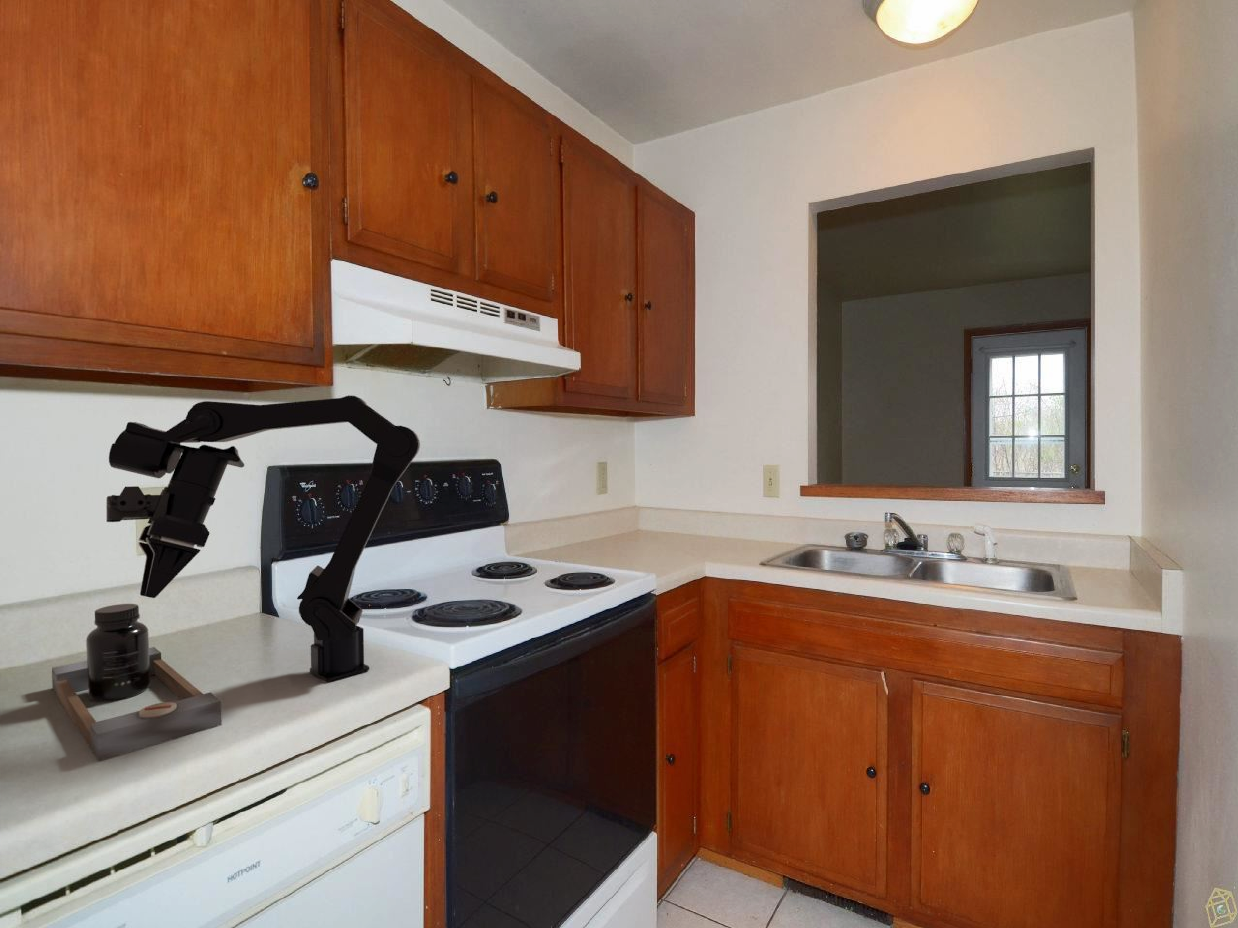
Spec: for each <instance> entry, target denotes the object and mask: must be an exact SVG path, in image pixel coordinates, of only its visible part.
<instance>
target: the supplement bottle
mask: <svg viewBox="0 0 1238 928" xmlns="http://www.w3.org/2000/svg"><path fill="white" fill-rule="evenodd" d="M139 607H140V606H139V605H138V604H136V603H121V604H112V605H107V606H103V607H100V608H98V609H95V610H94V621H93V622H94V625H95V626H96V628H94V629H93V630H91V631H90V632H89V633H88V635H87V637H86V641H85V642H86V643H85V644H86V645H85V646H86V647H85V649H86V661H87V671H88V689H87V690H88V697H89V698H90V699H91V700H93V701H95V702H112V701H113V702H114V701H118V700H125V699H127V698H131V697H134V696H137V695H139V694H141V693H144V692H145V691H147V690H148V688H149V687H150V685H151V675H150V662H149V648H150V642H149V641H150V639H149V637H150V636H149V629H148V627H147V626H146V624H144V623H142V622H141V621H138V620H139V619H140V617H141V615H140V610H139V609H140V608H139Z"/></svg>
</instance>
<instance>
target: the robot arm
mask: <svg viewBox="0 0 1238 928" xmlns="http://www.w3.org/2000/svg"><path fill="white" fill-rule="evenodd" d="M342 423H349V424H350V425H352V426H353V427H354V428H356V429H357V430H358V431H359V432H360V433H362V434H363V435H364V436H365V437H366V438H368V439H369V440H370V441H372V442H373V443H375V444H376V448H375V452H374V456H373V459H372V465H371V470H370V474H369V478H368V481H367V483H366V484H365V486H364V489H363V491H362V493H361V495H360V497H359V499H358V502H357V504H356V505H355V507H354V509H353V512H352V513H351V515H350V518H349V520H348V522H347V525H346V527H345V528H344V531H343V533H342V534H341V537H340V539H339V541H338V543H337V546H336V548H335V550H334V552H333V554H332V556H331V558H330V560H329V562H328V563H327V565H326V566H325V567H324V568H323V567H322V566H320V565H316V567H314V568H313V569H312V570H311V571H310V572H309V574H308V576H307V580H306V582H305V586H304V588H303V591H302V592H301V593H300V594H299V595H298V596H297V597H296V600H300V602H299V606H298V614H299V616H300V618H301V620H302V621H303V622H304V623H305V624H306V625H308V626H309V627H311V629H312V632H313V644H311V645H310V668H309V672H310V673H312V674H314V675H315V676H317V677H318V678H320V679H323V680H324V681H327V682H331V681H334V680H339V679H342V678H345V677H346V678H347V677H349V676H353V675H356V674H360V673H363V672H366V671H369V670H370V666H369V665H367V664H366V663H365V647H364V646H365V645H364V643H365V642H364V639H365V637H364V635H365V634H364V627H362V626H359V625H358V624H359V623H360V619H361V617H362V614H363V612H364V611H363V608H361V607H360V606H359V605H357V604H356V603H355V602H354V601H353V600H351V598H350V597H349V596H350V592H351V589H352V585H353V580H354V576H355V571H356V567H357V565H358V562H359V561H360V559H361V556H362V554H363V552H364V550H365V547H366V545H367V543H368V541H369V539H370V537H371V535H372V533H373V532H374V531H373V530H374V529H375V527H376V525H377V522H378V520H379V518H380V516H381V514H382V512H383V510H384V507H385V505H386V503H387V501H388V500H389V497H390V495H391V492H392V491H393V488H394V487H395V485H396V484H397V482H398V481H399V480H400V478H401V477H402V475H403V474H404V473H405V472H406V470H407V469H408V468H409V466H410V465H411V463H412V462H413V461H414V459H415V458H416V456H417V455H418V453H419V451H420V448H421V447H420V446H421V442H420V441H421V440H420V439H419V437H418V434H417V433H416V432H415V431H414V430H413V429H411V428H409V427H407V426H403V425H395V424H394V423H392V422H391V421H390V420H388V419H387V418H385V416H383V415H381V413H379V412H378V411H376V410H375V409H373V408H372V407H371V406H369V405H368V404H367V403H366V401H365V400H363V399H362V398H360V397H358V396H356V395H346V396H343V397H337V398H335V397H334V398H327V399H326V398H325V399H314V400H304V401H302V400H301V401H293V402H291V401H289V402H281V403H279V402H278V403H268V404H251V403H250V404H249V403H238V402H226V401H225V402H224V401H210V400H209V401H207V400H204V401H200V402H197V403H195V404H193V405H192V406H191V408H190V409H189V410H188V412H187V414H186V417H185V418H184V419H183V420H181V421H180V422H178V423H177V424H175V425H174V426H172V427H171V428H169V429H168V430H167V431H166V430H162V429H158V428H154V427H151V426H149V425H146V424H144V423H140V422H137V421H129V422H127V424H126V426H125V429H124V430H122V432H121V433H120V434H119V435H118V436H117V438H116V440H115V441H114V443H112V444H111V446H110V450H109V454H108V463H109V466H110V467H111V468H113V469H117V470H121V471H126V472H129V473H133V474H137V475H138V474H139V475H142V476H147V477H151V478H155V479H161V478H163V477H164V476H165V475H166V474H172V475H171V477H170V480H169V483H168V484H167V486H165V487H164V488H163V489H162V490H161V492H160V494H152V495H151V494H150V493H149V494H147V493H146V494H144V492H143V491H142V489H141V488H140V486H137V485H136V486H134V485H133V486H125V487H123V489H122V491H121V492H120V494H119V495H116V494H112V495H108V496H107V497H106V523H119V522H121V521H134V520H148V521H147V524H149V525H147V526H145V527H143V529H142V531H141V534H140V536H139V538H138V541H139V542H138V546H139V547H140V548H141V550H142V552H143V554H144V555H145V557H146V558H145V562H144V563H145V564H144V569H143V574H142V580H141V586H140V592H139V593H140V597H141V596H142V597H147V598H151V599H155V598H157V597H158V596H159V595H160V593H161V592H163V590H164V589H166V587H167V586H169V584H170V583H171V582H172V581H173V580H174V579H175V578H176V577H177V576H178V575H179V574H180V573H181V572H182V570H184V569H185V567H186V566H188V564H189V563H191V561H192V560H193V559H194V558H195V557H196V556H197V555H198V554H199V553H200V552H201V549H199V548H204V547H205V546H206V543H207V541H208V538H209V535H210V532H209V530H208V528H207V526H206V525H205V524H204V523H205V520H206V518H207V516H208V513H209V511H210V509H211V507H212V506H213V505H214V503H215V501H216V497H215V496H216V493H217V491H218V489H219V485H220V484H221V482H222V479H223V476H224V475H225V471H226V469H227V466H228V465H229V466H233V467H237V468H244V467H245V463H244V462H243V460H242V459H241V457H240V455H239V450H238V448H237V447H236V446H234V445H231V446H230V447H228V448H223V449H222V448H220V447H214V446H212V445H207V444H202V445H200V446H199V447H194V446H193V447H192V446H187V445H182V444H183V443H184V444H190V443H193V444H194V443H201V442H202V443H227V442H230V441H235V440H240V439H243V438H246V437H250V436H253V435H257V434H259V433H263V432H266V431H271V430H282V429H292V428H300V427H312V426H321V425H332V424H342ZM195 546H196V547H197V548H195Z"/></svg>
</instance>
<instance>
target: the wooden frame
mask: <svg viewBox="0 0 1238 928" xmlns="http://www.w3.org/2000/svg"><path fill="white" fill-rule="evenodd" d="M149 662H150V676H151V675H154V676H155V677H156V678H157V679H159V681H160V682H162V683H163V684H164V685H165V686H167V688H169V689H170V691H172V692H173V693H174V694H175V696H177V697H179V698H180V699H179V700H176V701H173V702H171V701H165V702H159V703H154V704H151V705H147V706H145V707H143V708H141V709H139V710H138V711H133V712H129V713H126V714H123V715H122V714H121V715H118V716H115V717H110V718H106V719H103V720H99V721H96V720H95V718H94V717H93V715H92V713H91V712H90V711H89V710H88V709H87V707H86V705H85V704H84V703H83V701H82V700H81V697H79V696H78V694H77V693H76V692H82V691H85V690H88V671H87V660H83V661H78V662H73V663H68V664H63V665H59V666H58V665H57V666H54V667H53V666H52V667H51V682H52V685H51V686H52V691H53V692H54V693H55V695H56V696H57V698H58V700H59V701H60V704H61V705H62V706H63V708H64V709H65V711H66V713H67V714H68V715H69V718H70V719H71V720H72V722H73V723H74V726H75V727H76V728H77V730H78V732H79V733H80V735H81V736H82V738H83V740H84V741H85V742H86V743H85V744H87V746H88V748H89V749H90V751H91V753H92V754H93V755H94V757H95V759H96V760H97V762H100V761H103V760H104V761H105V760H107V759H111V758H114V757H117V756H121V755H125V754H127V753H130V752H135V751H137V750H138V751H139V750H142V749H145V748H148V747H151V746H154V745H158V744H160V743H165V742H168V741H170V740H171V741H172V740H175V739H178V738H181V737H185V736H188V735H191V734H195V733H198V732H201V731H205V730H207V729H208V728H209V729H212V728H215V726H216V727H218V725H219V726H222V700H221V699H219V697H217V696H215V694H213V693H212V692H207V693H206V692H205V693H203V692H202V691H200V690H199V689H198V688H197V687H196V686H194V685H193V684H192V683H190V682H189V681H188V680H187V679H186V678H185V677H184V676H182V675H181V673H179V672H178V671H176V670H175V669H174V668H173V667H171V666H170V665H169V664H168V663H167V662H166V661H164V660H163V659H162V652H161V651H160V650H159V649H157V648H156V647H154V646H152V647H149ZM209 729H208V730H209Z"/></svg>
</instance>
